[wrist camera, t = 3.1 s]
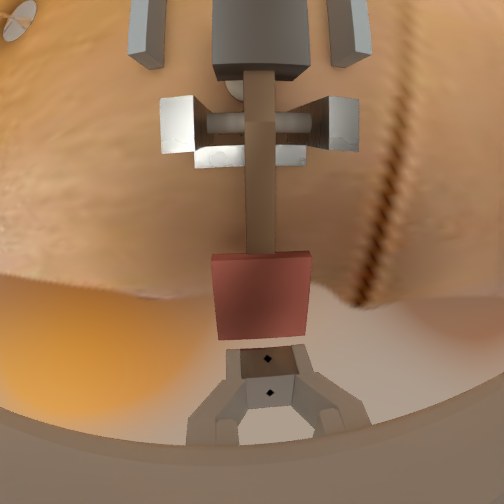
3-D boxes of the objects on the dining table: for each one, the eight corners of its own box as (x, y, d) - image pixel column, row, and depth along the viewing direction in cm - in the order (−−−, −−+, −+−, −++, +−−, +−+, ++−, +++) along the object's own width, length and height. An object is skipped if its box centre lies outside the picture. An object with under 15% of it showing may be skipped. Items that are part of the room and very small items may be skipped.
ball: (271, 63, 18) (278, 51, 15) (272, 104, 20) (279, 99, 17) (225, 63, 18) (223, 51, 15) (226, 105, 20) (224, 100, 16)
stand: (304, 112, 20) (359, 99, 11) (304, 165, 22) (356, 191, 12) (193, 114, 20) (159, 98, 10) (195, 167, 21) (165, 195, 12)
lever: (282, 35, 17) (315, -24, 8) (282, 268, 24) (308, 345, 15) (214, 35, 17) (202, -27, 8) (222, 271, 24) (217, 350, 15)
